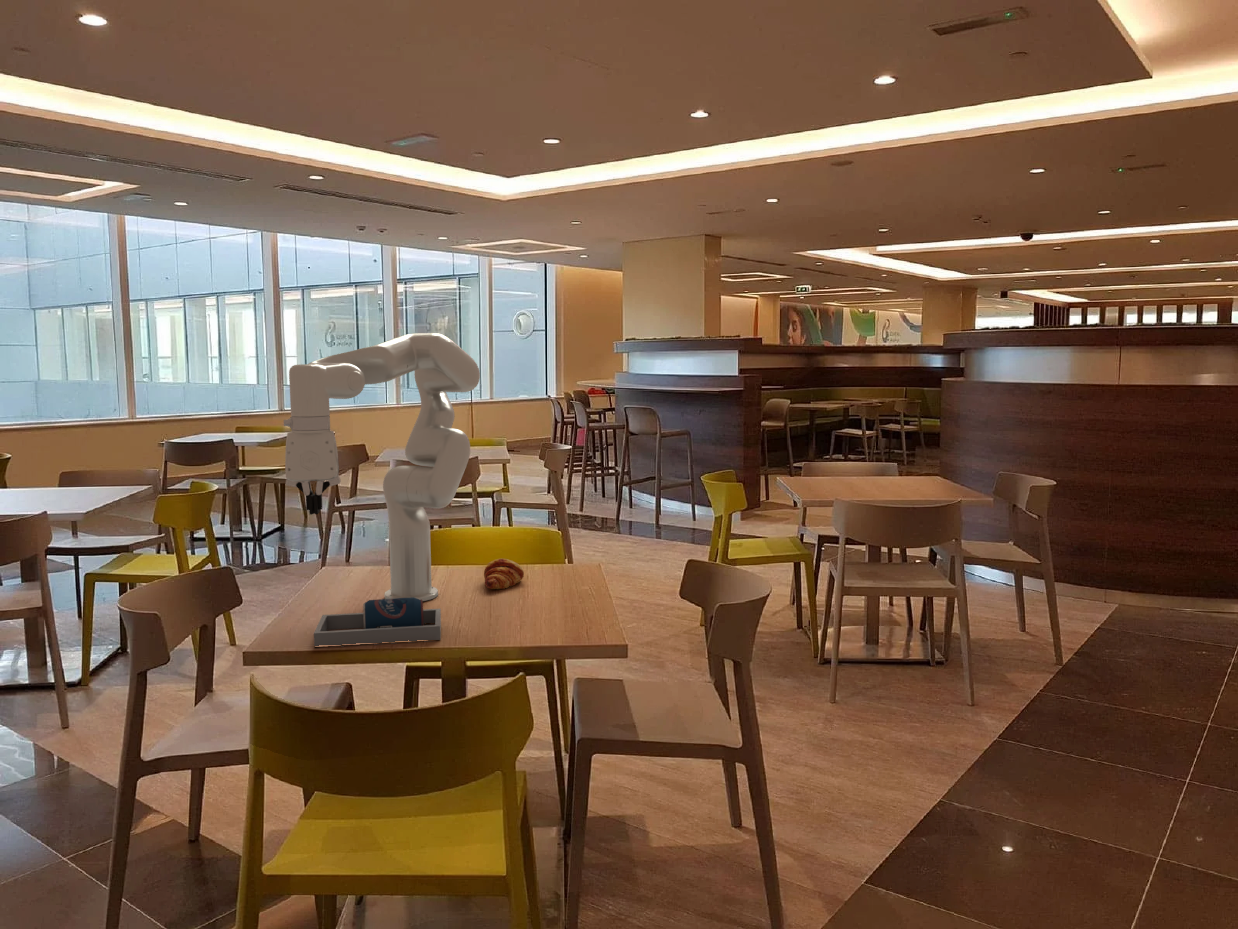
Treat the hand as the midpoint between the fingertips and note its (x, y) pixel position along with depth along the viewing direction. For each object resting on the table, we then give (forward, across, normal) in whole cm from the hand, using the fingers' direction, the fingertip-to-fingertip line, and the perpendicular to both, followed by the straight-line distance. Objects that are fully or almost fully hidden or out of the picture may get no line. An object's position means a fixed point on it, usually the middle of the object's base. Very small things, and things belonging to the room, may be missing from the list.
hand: (314, 513), depth 185 cm
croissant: (+26, +41, +33) cm, 59 cm away
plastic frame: (+25, +13, -5) cm, 29 cm away
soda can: (+22, +9, -4) cm, 24 cm away
